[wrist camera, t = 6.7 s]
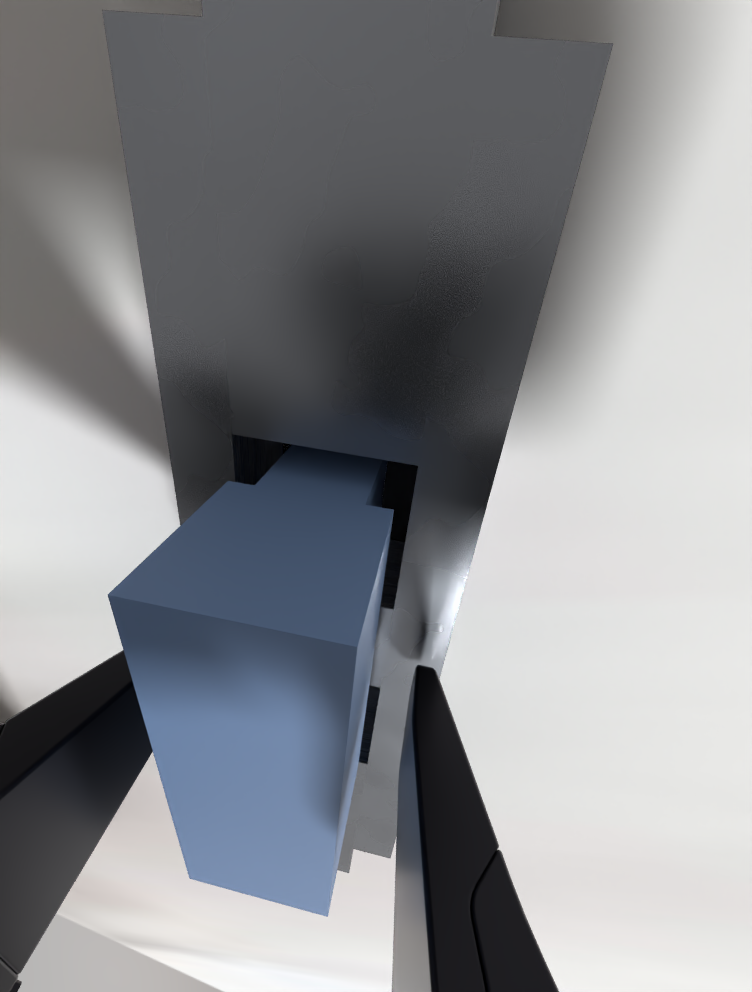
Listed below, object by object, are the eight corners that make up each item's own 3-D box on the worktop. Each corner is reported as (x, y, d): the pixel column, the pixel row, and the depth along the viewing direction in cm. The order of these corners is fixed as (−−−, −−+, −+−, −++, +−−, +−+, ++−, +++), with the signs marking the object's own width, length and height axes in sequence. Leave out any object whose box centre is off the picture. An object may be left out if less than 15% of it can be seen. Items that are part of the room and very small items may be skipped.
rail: (393, 806, 18) (383, 882, 15) (255, 771, 18) (228, 840, 16) (612, -80, 6) (704, -287, 4) (195, -97, 6) (58, -282, 4)
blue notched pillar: (377, 671, 14) (327, 916, 9) (288, 652, 14) (190, 878, 9) (411, 444, 10) (357, 647, 5) (286, 424, 10) (107, 594, 5)
